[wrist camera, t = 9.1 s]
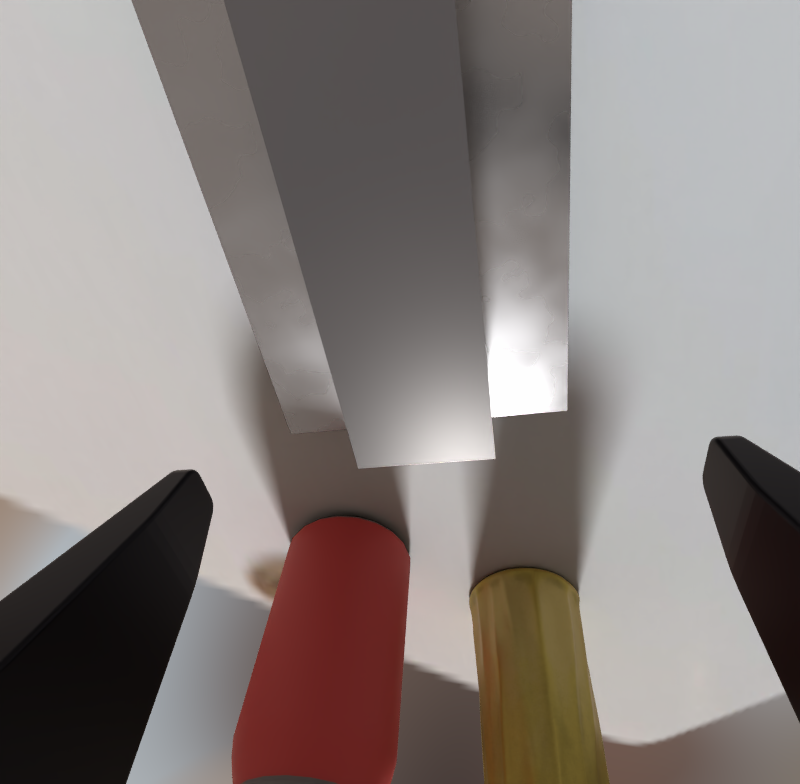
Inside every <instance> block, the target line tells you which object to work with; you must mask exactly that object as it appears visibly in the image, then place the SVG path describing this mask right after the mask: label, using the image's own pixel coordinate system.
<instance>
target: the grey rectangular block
mask: <svg viewBox="0 0 800 784" xmlns="http://www.w3.org/2000/svg"><path fill="white" fill-rule="evenodd" d="M224 3H225V7H226V10H227V14H228V17H229V21H230V24H231V28H232V31H233V35H234V38H235V42H236V45H237V48H238V52H239V55H240V59H241V62H242V66H243V69H244V73H245V76H246V80H247V83H248V87H249V90H250V94H251V97H252V101H253V104H254V108H255V111H256V115H257V118H258V122H259V125H260V129H261V132H262V136H263V139H264V142H265V146H266V149H267V153H268V156H269V160H270V163H271V167H272V170H273V174H274V177H275V181H276V184H277V188H278V191H279V195H280V198H281V202H282V205H283V209H284V212H285V216H286V219H287V223H288V226H289V230H290V233H291V236H292V240H293V243H294V247H295V250H296V254H297V257H298V261H299V264H300V268H301V271H302V275H303V278H304V282H305V285H306V289H307V292H308V296H309V299H310V303H311V306H312V310H313V313H314V317H315V320H316V323H317V327H318V330H319V334H320V337H321V341H322V344H323V348H324V351H325V355H326V358H327V362H328V365H329V369H330V372H331V376H332V379H333V383H334V386H335V390H336V393H337V397H338V400H339V404H340V407H341V411H342V414H343V417H344V421H345V424H346V428H347V431H348V435H349V438H350V442H351V445H352V449H353V452H354V456H355V459H356V463H357V466H358V469H360V468H374V467H388V466H402V465H416V464H430V463H444V462H458V461H472V460H486V459H495V447H494V436H493V425H492V413H491V402H490V391H489V379H488V368H487V357H486V345H485V334H484V323H483V312H482V300H481V289H480V278H479V266H478V255H477V244H476V232H475V221H474V210H473V198H472V187H471V176H470V164H469V153H468V142H467V130H466V119H465V108H464V97H463V85H462V74H461V63H460V51H459V40H458V29H457V17H456V6H455V0H224Z"/></svg>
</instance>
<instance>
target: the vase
mask: <svg viewBox="0 0 800 784" xmlns="http://www.w3.org/2000/svg"><path fill="white" fill-rule="evenodd" d="M579 601H580V599H579V595H578V593H577V591H576V590H575V588H574V587H573V586H572V585H571V584H570V583H569V582H568V581H566V580H565V579H564V578H562V577H561V576H559V575H557V574H555V573H552V572H549V571H546V570H541V569H536V568H515V569H508V570H503V571H500V572H497V573H494V574H492V575H490V576H488V577H486V578H485V579H483V580H482V581H481V582H479V583H478V584H477V585H476V586H475V588H474V589H473V591H472V593H471V595H470V599H469V605H470V610H471V614H472V621H473V634H474V645H475V654H476V665H477V674H478V685H479V697H480V719H481V736H482V752H483V765H484V766H483V767H484V784H610V783H609V777H608V772H607V766H606V759H605V753H604V747H603V741H602V735H601V730H600V724H599V718H598V713H597V708H596V703H595V698H594V693H593V689H592V684H591V678H590V673H589V668H588V664H587V658H586V650H585V643H584V636H583V629H582V622H581V616H580V609H579Z"/></svg>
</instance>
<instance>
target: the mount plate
mask: <svg viewBox="0 0 800 784" xmlns="http://www.w3.org/2000/svg"><path fill="white" fill-rule="evenodd" d="M132 3H133V6H134V8H135V11H136V14H137V16H138V19H139V22H140V25H141V27H142V30H143V33H144V35H145V38H146V41H147V44H148V46H149V49H150V52H151V54H152V57H153V60H154V63H155V65H156V68H157V71H158V74H159V76H160V79H161V82H162V84H163V87H164V90H165V93H166V95H167V98H168V101H169V103H170V106H171V109H172V112H173V114H174V117H175V120H176V123H177V125H178V128H179V131H180V133H181V136H182V139H183V142H184V144H185V147H186V150H187V152H188V155H189V158H190V161H191V163H192V166H193V169H194V171H195V174H196V177H197V180H198V182H199V185H200V188H201V191H202V193H203V196H204V199H205V201H206V204H207V207H208V210H209V212H210V215H211V218H212V220H213V223H214V226H215V229H216V231H217V234H218V237H219V240H220V242H221V245H222V248H223V250H224V253H225V256H226V259H227V261H228V264H229V267H230V269H231V272H232V275H233V278H234V280H235V283H236V286H237V288H238V291H239V294H240V297H241V299H242V302H243V305H244V308H245V310H246V313H247V316H248V318H249V321H250V324H251V327H252V329H253V332H254V335H255V337H256V340H257V343H258V346H259V348H260V351H261V354H262V357H263V359H264V362H265V365H266V367H267V370H268V373H269V376H270V378H271V381H272V384H273V386H274V389H275V392H276V395H277V397H278V400H279V403H280V405H281V408H282V411H283V414H284V416H285V419H286V422H287V425H288V427H289V430H290V433H291V434H298V433H310V432H322V431H334V430H345V429H347V428H346V424H345V421H344V417H343V414H342V411H341V407H340V404H339V400H338V397H337V393H336V390H335V386H334V383H333V379H332V376H331V372H330V369H329V365H328V362H327V358H326V355H325V351H324V348H323V344H322V341H321V337H320V334H319V330H318V327H317V323H316V320H315V317H314V313H313V310H312V306H311V303H310V299H309V296H308V292H307V289H306V285H305V282H304V278H303V275H302V271H301V268H300V264H299V261H298V257H297V254H296V250H295V247H294V243H293V240H292V236H291V233H290V230H289V226H288V223H287V219H286V216H285V212H284V209H283V205H282V202H281V198H280V195H279V191H278V188H277V184H276V181H275V177H274V174H273V170H272V167H271V163H270V160H269V156H268V153H267V149H266V146H265V142H264V139H263V136H262V132H261V129H260V125H259V122H258V118H257V115H256V111H255V108H254V104H253V101H252V97H251V94H250V90H249V87H248V83H247V80H246V76H245V73H244V69H243V66H242V62H241V59H240V55H239V52H238V48H237V45H236V42H235V38H234V35H233V31H232V28H231V24H230V21H229V17H228V14H227V10H226V7H225V3H224V0H132ZM455 6H456V17H457V29H458V40H459V51H460V63H461V74H462V85H463V97H464V108H465V119H466V130H467V142H468V153H469V164H470V176H471V187H472V198H473V210H474V221H475V232H476V244H477V255H478V266H479V278H480V289H481V300H482V312H483V323H484V334H485V345H486V357H487V368H488V379H489V391H490V402H491V413H492V417H499V416H511V415H522V414H534V413H546V412H558V411H567V397H568V306H569V215H570V123H571V32H572V0H455Z"/></svg>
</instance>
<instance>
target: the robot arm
mask: <svg viewBox="0 0 800 784" xmlns="http://www.w3.org/2000/svg"><path fill="white" fill-rule="evenodd" d="M703 485H704V490H705V493H706V496H707V499H708V502H709V505H710V508H711V511H712V515H713V518H714V521H715V524H716V527H717V530H718V533H719V537H720V540H721V543H722V546H723V549H724V552H725V555H726V558H727V561H728V564H729V567H730V570H731V573H732V575H733V577H734V580H735V582H736V585H737V587H738V589H739V591H740V594H741V596H742V598H743V600H744V602H745V604H746V607H747V609H748V611H749V613H750V615H751V618H752V620H753V622H754V624H755V626H756V628H757V631H758V633H759V635H760V637H761V639H762V642H763V644H764V646H765V648H766V650H767V653H768V655H769V657H770V659H771V661H772V663H773V666H774V668H775V670H776V672H777V674H778V677H779V679H780V681H781V683H782V685H783V688H784V690H785V692H786V694H787V696H788V698H789V701H790V703H791V705H792V707H793V709H794V711H795V713H796V716H797V718H798V720H799V722H800V472H799V471H798V470H796V469H794V468H793V467H791V466H789V465H788V464H786V463H785V462H783V461H781V460H780V459H778V458H777V457H775V456H773V455H772V454H770V453H768V452H767V451H765V450H764V449H762V448H760V447H759V446H757V445H755V444H754V443H752V442H751V441H749V440H747V439H746V438H744V437H741V436H722V437H715V438H713V439H712V440H711V441H710V444H709V448H708V452H707V457H706V462H705V466H704V471H703ZM212 514H213V502H212V498H211V496H210V494H209V492H208V490H207V488H206V486H205V484H204V482H203V481H202V479H201V477H200V475H199V473H198V472H197V471H195V470H191V469H190V470H176V471H173V472H171V473H170V474H168V475H167V476H166V477H164V478H163V479H162V480H160V481H159V482H158V483H156V484H155V485H154V486H152V487H151V488H150V489H148V490H147V491H146V492H144V493H143V494H142V495H140V496H139V497H138V498H136V499H135V500H134V501H133V502H131V503H130V504H129V505H127V506H126V507H125V508H123V509H122V510H121V511H119V512H118V513H117V514H115V515H114V516H113V517H111V518H110V519H109V520H107V521H106V522H105V523H103V524H102V525H101V526H99V527H98V528H97V529H95V530H94V531H93V532H91V533H90V534H89V535H87V536H86V537H85V538H83V539H82V540H81V541H79V542H78V543H77V544H75V545H74V546H73V547H71V548H70V549H69V550H67V551H66V552H65V553H63V554H62V555H61V556H59V557H58V558H57V559H55V560H54V561H53V562H51V563H50V564H49V565H47V566H46V567H45V568H44V569H42V570H41V571H39V572H38V573H37V574H36V575H34V576H33V577H31V578H30V579H29V580H28V581H26V582H25V583H24V584H22V585H21V586H20V587H19V588H17V589H16V590H14V591H13V592H12V593H10V594H9V595H8V596H6V597H5V598H4V599H2V600H1V601H0V784H126V782H127V779H128V776H129V774H130V771H131V768H132V765H133V762H134V759H135V756H136V753H137V751H138V748H139V745H140V742H141V739H142V736H143V734H144V731H145V728H146V725H147V722H148V719H149V716H150V714H151V711H152V708H153V705H154V702H155V699H156V696H157V693H158V691H159V688H160V685H161V682H162V679H163V676H164V674H165V671H166V668H167V665H168V662H169V659H170V656H171V653H172V651H173V648H174V645H175V642H176V639H177V636H178V634H179V631H180V628H181V625H182V622H183V620H184V617H185V614H186V611H187V608H188V605H189V602H190V599H191V597H192V593H193V590H194V587H195V584H196V580H197V577H198V573H199V569H200V564H201V560H202V556H203V552H204V547H205V543H206V539H207V535H208V530H209V526H210V522H211V518H212Z"/></svg>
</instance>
